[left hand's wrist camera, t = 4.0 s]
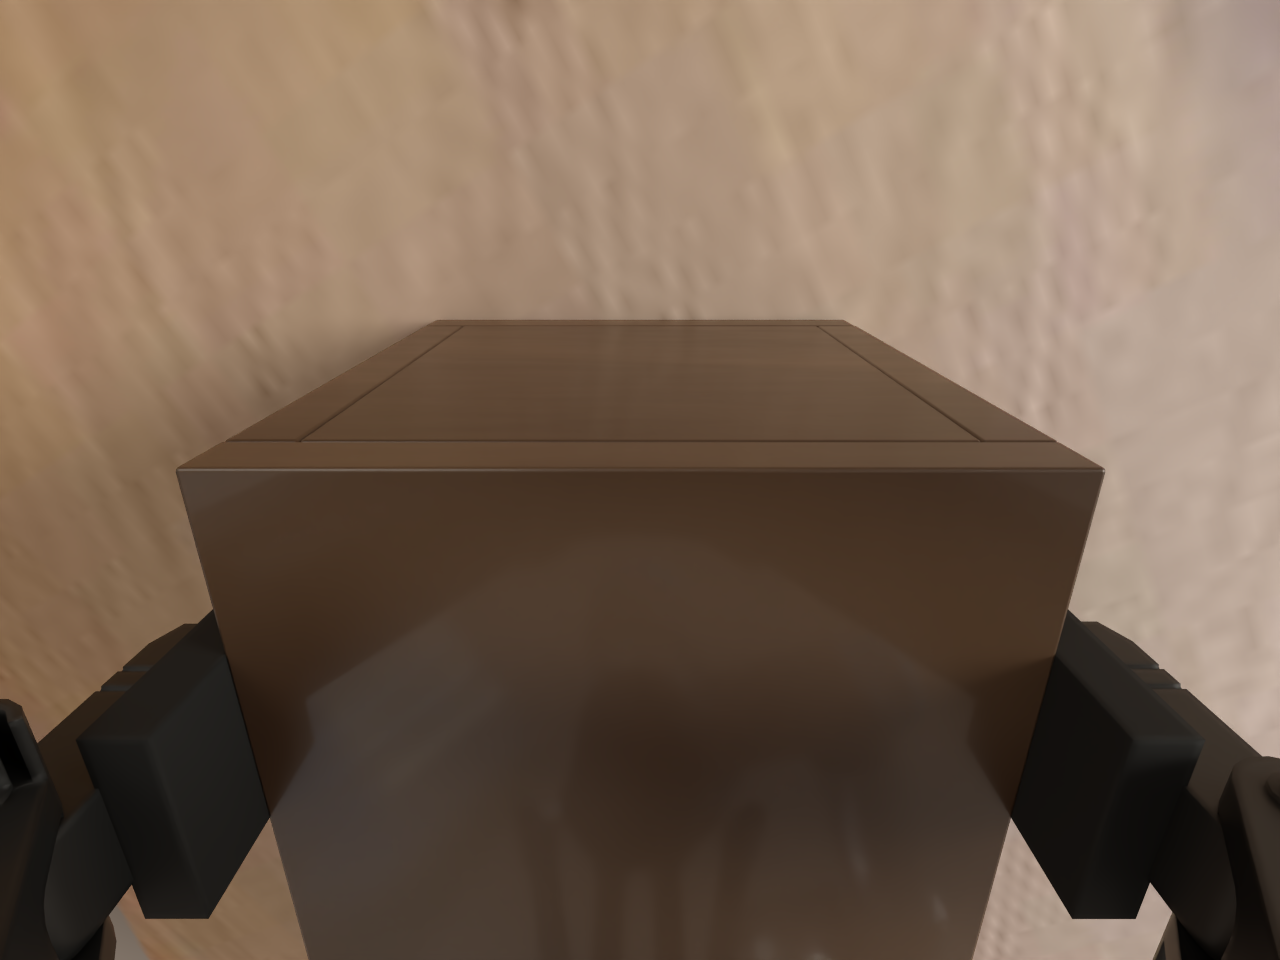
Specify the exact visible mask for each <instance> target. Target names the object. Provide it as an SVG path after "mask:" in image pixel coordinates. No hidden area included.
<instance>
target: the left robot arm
mask: <svg viewBox="0 0 1280 960" xmlns="http://www.w3.org/2000/svg"><path fill="white" fill-rule="evenodd" d="M1180 685H1181V684H1180V683H1179V682H1178V681H1177V680H1175V679H1174V678H1173V677H1172V676H1171V675H1170V674H1169V673H1168V672H1166V671H1165V670H1164V669H1159V664H1157V663H1156V662H1155V661H1154V660H1153V659H1152V658H1151V657H1150V656H1148V655H1147V654H1146V653H1145V652H1144V651H1143V650H1142V649H1141V648H1139V647H1138V646H1137V645H1136V644H1135V643H1134V642H1133V641H1131V640H1129V639H1127V638H1126V637H1124V636H1122V635H1120V634H1118V633H1117V632H1115V631H1113V630H1111V629H1109V628H1107V627H1106V626H1104V625H1102V624H1100V623H1098V622H1081V621H1080V620H1079V619H1078V618H1077V617H1075V616H1074V615H1073V614H1072V613H1071V612H1070V611H1069V610H1067V614H1066V618H1065V621H1064V625H1063V629H1062V632H1061V636H1060V640H1059V643H1058V647H1057V651H1056V654H1055V658H1054V662H1053V665H1052V669H1051V672H1050V676H1049V680H1048V683H1047V687H1046V691H1045V694H1044V698H1043V702H1042V705H1041V709H1040V713H1039V716H1038V720H1037V724H1036V727H1035V731H1034V735H1033V738H1032V742H1031V746H1030V749H1029V753H1028V757H1027V760H1026V764H1025V768H1024V771H1023V775H1022V779H1021V782H1020V786H1019V790H1018V793H1017V797H1016V801H1015V804H1014V808H1013V812H1012V815H1011V818H1012V820H1013V821H1014V823H1015V825H1016V826H1017V828H1018V830H1019V831H1020V833H1021V835H1022V836H1023V838H1024V840H1025V841H1026V843H1027V845H1028V846H1029V848H1030V850H1031V851H1032V853H1033V854H1034V856H1035V858H1036V859H1037V861H1038V863H1039V864H1040V866H1041V868H1042V869H1043V871H1044V873H1045V874H1046V876H1047V878H1048V879H1049V881H1050V883H1051V884H1052V886H1053V888H1054V889H1055V891H1056V893H1057V894H1058V896H1059V898H1060V899H1061V901H1062V902H1063V904H1064V906H1065V907H1066V909H1067V911H1068V912H1069V914H1070V916H1071V917H1072V919H1136V917H1137V914H1138V912H1139V909H1140V906H1141V904H1142V901H1143V899H1144V896H1145V894H1146V891H1147V889H1148V886H1149V883H1151V884H1152V885H1153V887H1154V888H1155V889H1156V891H1157V892H1158V893H1159V895H1160V896H1161V897H1162V899H1163V900H1164V901H1165V903H1166V904H1167V905H1168V907H1169V908H1170V909H1171V911H1172V915H1171V917H1170V919H1169V922H1168V924H1167V927H1166V929H1165V931H1164V934H1163V936H1162V939H1161V941H1160V943H1159V946H1158V948H1157V950H1156V953H1155V955H1154V958H1153V960H1280V759H1279V758H1274V757H1269V756H1265V757H1262V756H1261V755H1260V754H1259V753H1258V752H1257V751H1255V750H1254V749H1253V748H1252V747H1251V746H1250V745H1249V744H1248V743H1246V742H1245V741H1244V740H1243V739H1242V738H1241V737H1240V736H1239V735H1237V734H1236V733H1235V732H1234V731H1233V730H1232V729H1231V728H1230V727H1228V726H1227V725H1226V724H1225V723H1224V722H1223V721H1222V720H1221V719H1219V718H1218V717H1217V716H1216V715H1215V714H1214V713H1213V712H1211V711H1210V710H1209V709H1208V708H1207V707H1206V706H1205V705H1204V704H1202V703H1201V702H1200V701H1199V700H1198V699H1197V698H1196V697H1195V696H1193V695H1192V694H1191V693H1190V692H1189V691H1188V690H1187V689H1181V686H1180ZM269 818H270V816H269V812H268V808H267V805H266V801H265V797H264V794H263V790H262V786H261V782H260V779H259V775H258V771H257V768H256V764H255V760H254V757H253V753H252V749H251V746H250V742H249V738H248V735H247V731H246V727H245V724H244V720H243V716H242V713H241V709H240V705H239V702H238V698H237V694H236V691H235V687H234V683H233V680H232V676H231V672H230V669H229V665H228V661H227V658H226V654H225V650H224V647H223V643H222V639H221V636H220V632H219V628H218V625H217V621H216V617H215V614H214V610H212V611H211V612H210V613H208V614H207V615H206V616H205V617H204V618H203V619H202V620H201V621H200V622H199V623H198V624H183V625H182V626H180V627H178V628H176V629H174V630H173V631H171V632H169V633H167V634H165V635H164V636H162V637H160V638H158V639H156V640H155V641H153V642H151V643H149V644H148V645H147V646H146V647H145V648H144V649H143V650H141V651H140V652H139V653H138V654H137V655H136V656H135V657H134V658H132V659H131V660H130V661H129V662H128V663H127V664H126V665H125V666H124V667H123V671H122V672H117V673H116V674H115V675H113V676H112V677H111V678H110V679H109V680H108V681H107V682H106V683H105V684H103V685H102V686H101V691H96V692H94V693H93V694H92V695H91V696H90V697H89V698H88V699H87V700H85V701H84V702H83V703H82V704H81V705H80V706H79V707H78V708H77V709H75V710H74V711H73V712H72V713H71V714H70V715H69V716H68V717H66V718H65V719H64V720H63V721H62V722H61V723H60V724H59V725H58V726H56V727H55V728H54V729H53V730H52V731H51V732H50V733H49V734H47V735H46V736H45V737H44V738H43V739H42V740H41V741H40V742H39V743H37V742H36V740H35V738H34V735H33V733H32V730H31V728H30V726H29V723H28V721H27V718H26V716H25V714H24V711H23V709H22V706H20V705H18V704H16V703H14V702H13V701H11V700H9V699H0V960H114V958H115V949H116V937H115V932H114V927H113V924H112V922H111V920H110V917H109V914H110V913H111V911H112V910H113V909H114V907H115V906H116V905H117V903H118V902H119V901H120V899H121V898H122V897H123V895H124V894H125V893H126V891H127V890H128V889H129V887H130V886H131V885H132V886H133V889H134V891H135V894H136V896H137V899H138V901H139V904H140V907H141V909H142V912H143V914H144V917H145V919H209V917H210V915H211V914H212V912H213V910H214V909H215V907H216V905H217V904H218V902H219V900H220V899H221V897H222V895H223V894H224V892H225V890H226V889H227V887H228V885H229V884H230V882H231V881H232V879H233V877H234V876H235V874H236V872H237V871H238V869H239V867H240V866H241V864H242V862H243V861H244V859H245V857H246V856H247V854H248V852H249V851H250V849H251V847H252V846H253V844H254V842H255V841H256V839H257V837H258V836H259V834H260V833H261V831H262V829H263V828H264V826H265V824H266V823H267V821H268V819H269Z"/></svg>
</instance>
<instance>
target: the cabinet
mask: <svg viewBox="0 0 1280 960" xmlns="http://www.w3.org/2000/svg"><path fill="white" fill-rule="evenodd" d="M176 474H177V478H178V481H179V485H180V489H181V492H182V496H183V500H184V503H185V507H186V511H187V514H188V518H189V522H190V525H191V529H192V533H193V536H194V540H195V544H196V547H197V551H198V555H199V558H200V562H201V566H202V570H203V573H204V577H205V581H206V584H207V588H208V592H209V595H210V599H211V603H212V606H213V610H214V614H215V617H216V621H217V625H218V628H219V632H220V636H221V639H222V643H223V647H224V650H225V654H226V658H227V661H228V665H229V669H230V672H231V676H232V680H233V683H234V687H235V691H236V694H237V698H238V702H239V705H240V709H241V713H242V716H243V720H244V724H245V727H246V731H247V735H248V738H249V742H250V746H251V749H252V753H253V757H254V760H255V764H256V768H257V771H258V775H259V779H260V782H261V786H262V790H263V794H264V797H265V801H266V805H267V808H268V812H269V816H270V819H271V823H272V827H273V830H274V834H275V838H276V841H277V845H278V849H279V852H280V856H281V860H282V863H283V867H284V871H285V874H286V878H287V882H288V885H289V889H290V893H291V896H292V900H293V904H294V907H295V911H296V915H297V918H298V922H299V926H300V929H301V933H302V937H303V940H304V944H305V948H306V951H307V955H308V959H309V960H972V958H973V955H974V951H975V947H976V944H977V940H978V936H979V933H980V929H981V925H982V922H983V918H984V914H985V911H986V907H987V903H988V900H989V896H990V892H991V889H992V885H993V881H994V878H995V874H996V870H997V867H998V863H999V859H1000V856H1001V852H1002V848H1003V845H1004V841H1005V837H1006V834H1007V830H1008V826H1009V823H1010V819H1011V815H1012V812H1013V808H1014V804H1015V801H1016V797H1017V793H1018V790H1019V786H1020V782H1021V779H1022V775H1023V771H1024V768H1025V764H1026V760H1027V757H1028V753H1029V749H1030V746H1031V742H1032V738H1033V735H1034V731H1035V727H1036V724H1037V720H1038V716H1039V713H1040V709H1041V705H1042V702H1043V698H1044V694H1045V691H1046V687H1047V683H1048V680H1049V676H1050V672H1051V669H1052V665H1053V662H1054V658H1055V654H1056V651H1057V647H1058V643H1059V640H1060V636H1061V632H1062V629H1063V625H1064V621H1065V618H1066V614H1067V610H1068V607H1069V603H1070V599H1071V596H1072V592H1073V588H1074V585H1075V581H1076V577H1077V574H1078V570H1079V566H1080V563H1081V559H1082V555H1083V552H1084V548H1085V544H1086V541H1087V537H1088V533H1089V530H1090V526H1091V522H1092V519H1093V515H1094V511H1095V508H1096V504H1097V500H1098V497H1099V493H1100V489H1101V486H1102V482H1103V478H1104V475H1105V469H1104V468H1103V467H1101V466H1099V465H1098V464H1096V463H1094V462H1092V461H1091V460H1089V459H1087V458H1085V457H1084V456H1082V455H1080V454H1078V453H1077V452H1075V451H1073V450H1071V449H1070V448H1068V447H1066V446H1064V445H1063V444H1061V443H1059V442H1057V441H1056V440H1054V439H1052V438H1051V437H1049V436H1047V435H1045V434H1044V433H1042V432H1040V431H1038V430H1037V429H1035V428H1033V427H1031V426H1030V425H1028V424H1026V423H1024V422H1023V421H1021V420H1019V419H1017V418H1016V417H1014V416H1012V415H1010V414H1009V413H1007V412H1005V411H1003V410H1002V409H1000V408H998V407H996V406H995V405H993V404H991V403H989V402H988V401H986V400H984V399H982V398H981V397H979V396H977V395H975V394H974V393H972V392H970V391H968V390H967V389H965V388H963V387H961V386H960V385H958V384H956V383H954V382H953V381H951V380H949V379H947V378H946V377H944V376H942V375H940V374H939V373H937V372H935V371H933V370H932V369H930V368H928V367H926V366H925V365H923V364H921V363H919V362H918V361H916V360H914V359H912V358H911V357H909V356H907V355H905V354H904V353H902V352H900V351H898V350H897V349H895V348H893V347H891V346H890V345H888V344H886V343H884V342H883V341H881V340H879V339H877V338H876V337H874V336H872V335H870V334H869V333H867V332H865V331H863V330H861V329H860V328H858V327H856V326H853V325H851V324H850V323H848V322H846V321H844V320H437V321H435V322H433V323H431V324H429V325H428V326H426V327H423V328H422V329H420V330H418V331H416V332H415V333H413V334H411V335H409V336H408V337H406V338H404V339H403V340H401V341H399V342H397V343H396V344H394V345H392V346H390V347H389V348H387V349H385V350H383V351H382V352H380V353H378V354H376V355H375V356H373V357H371V358H369V359H368V360H366V361H364V362H362V363H361V364H359V365H357V366H355V367H354V368H352V369H350V370H348V371H347V372H345V373H343V374H341V375H340V376H338V377H336V378H334V379H333V380H331V381H329V382H327V383H326V384H324V385H322V386H321V387H319V388H317V389H315V390H314V391H312V392H310V393H308V394H307V395H305V396H303V397H301V398H300V399H298V400H296V401H294V402H293V403H291V404H289V405H287V406H286V407H284V408H282V409H280V410H279V411H277V412H275V413H273V414H272V415H270V416H268V417H266V418H265V419H263V420H261V421H259V422H258V423H256V424H254V425H252V426H251V427H249V428H247V429H246V430H244V431H242V432H240V433H239V434H237V435H235V436H233V437H232V438H230V439H228V440H226V442H222V443H220V444H218V445H216V446H215V447H213V448H211V449H209V450H208V451H206V452H204V453H202V454H201V455H199V456H197V457H195V458H194V459H192V460H190V461H188V462H187V463H185V464H183V465H181V466H180V467H178V468H177V469H176Z"/></svg>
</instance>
